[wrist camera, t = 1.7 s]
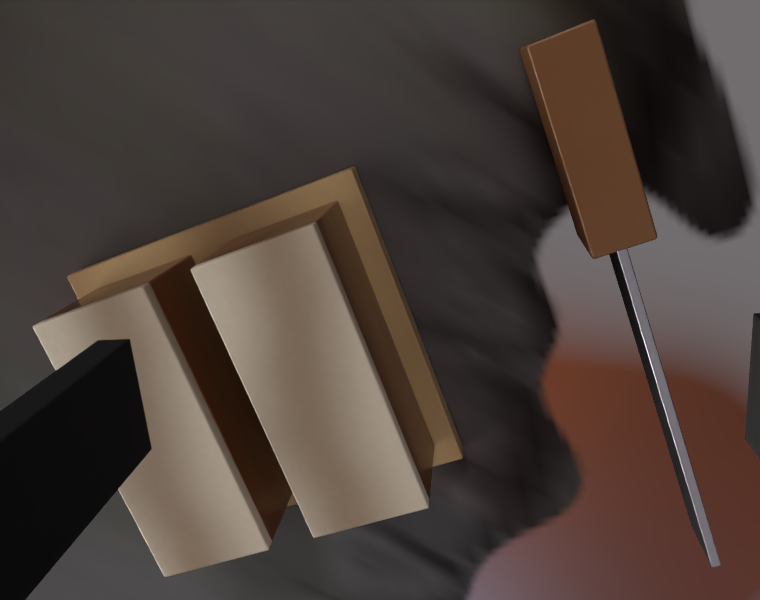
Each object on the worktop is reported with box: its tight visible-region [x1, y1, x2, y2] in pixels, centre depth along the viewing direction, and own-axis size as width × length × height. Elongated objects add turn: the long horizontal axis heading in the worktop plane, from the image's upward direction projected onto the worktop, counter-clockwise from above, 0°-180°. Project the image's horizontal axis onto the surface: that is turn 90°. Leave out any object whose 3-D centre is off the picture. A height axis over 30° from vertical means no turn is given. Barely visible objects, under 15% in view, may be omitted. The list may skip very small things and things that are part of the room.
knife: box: [520, 19, 721, 567], centre depth 29 cm, size 23×2×4 cm, turn 21°
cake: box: [33, 166, 463, 577], centre depth 31 cm, size 14×14×6 cm
